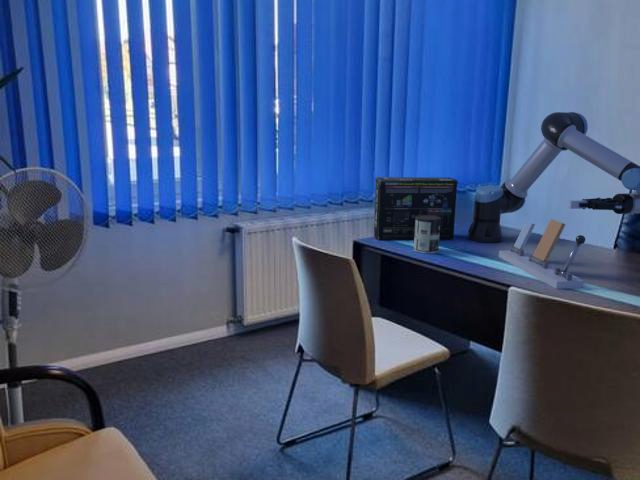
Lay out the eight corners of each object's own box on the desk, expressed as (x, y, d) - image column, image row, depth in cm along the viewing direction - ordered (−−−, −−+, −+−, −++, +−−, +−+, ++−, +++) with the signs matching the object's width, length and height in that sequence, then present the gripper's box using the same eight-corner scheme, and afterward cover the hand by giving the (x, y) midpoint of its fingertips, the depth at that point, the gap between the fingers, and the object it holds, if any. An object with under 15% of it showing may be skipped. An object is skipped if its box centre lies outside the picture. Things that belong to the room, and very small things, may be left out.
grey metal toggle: (560, 275, 192) (581, 235, 190) (569, 279, 187) (590, 238, 185) (554, 272, 191) (574, 232, 189) (562, 276, 186) (583, 235, 184)
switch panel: (521, 255, 224) (522, 244, 223) (583, 287, 187) (585, 274, 185) (498, 256, 222) (499, 245, 221) (556, 288, 185) (558, 275, 184)
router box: (446, 234, 257) (451, 177, 251) (454, 240, 247) (460, 180, 240) (371, 234, 254) (373, 176, 247) (375, 240, 243) (378, 179, 236)
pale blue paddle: (514, 251, 220) (528, 222, 218) (521, 254, 216) (536, 225, 214) (510, 250, 220) (525, 220, 218) (517, 253, 215) (532, 223, 213)
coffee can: (436, 247, 234) (438, 214, 230) (440, 254, 224) (443, 220, 220) (411, 246, 234) (413, 214, 230) (415, 253, 224) (417, 219, 220)
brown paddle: (533, 261, 207) (554, 220, 205) (545, 267, 200) (566, 224, 197) (529, 259, 207) (550, 218, 204) (541, 265, 200) (562, 223, 197)
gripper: (638, 217, 199) (579, 218, 194) (613, 210, 211) (557, 211, 207) (641, 196, 197) (582, 197, 193) (616, 190, 209) (560, 191, 205)
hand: (569, 204), depth 200 cm, fingers closed
